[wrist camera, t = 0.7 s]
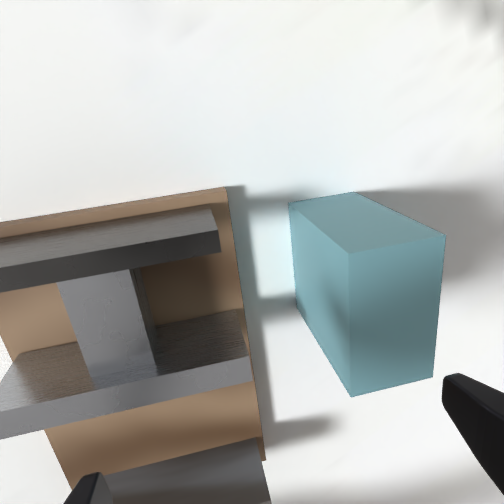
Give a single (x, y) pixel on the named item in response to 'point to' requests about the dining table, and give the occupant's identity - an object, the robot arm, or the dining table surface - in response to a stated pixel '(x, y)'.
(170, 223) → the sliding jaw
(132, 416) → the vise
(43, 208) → the dining table surface
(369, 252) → the workpiece block
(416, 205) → the dining table surface
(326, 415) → the dining table surface
